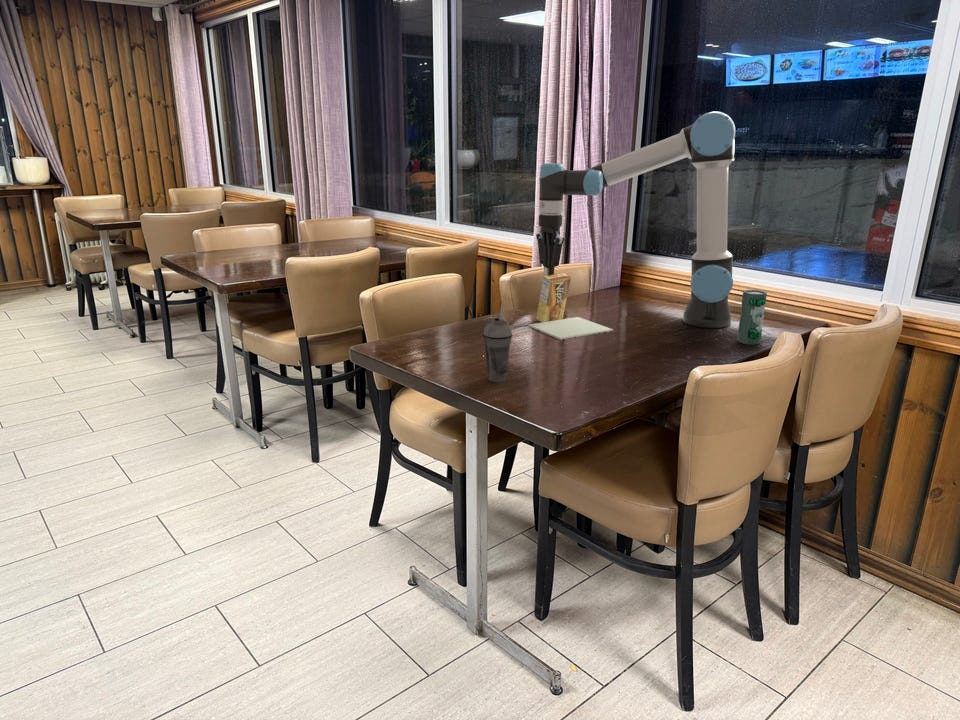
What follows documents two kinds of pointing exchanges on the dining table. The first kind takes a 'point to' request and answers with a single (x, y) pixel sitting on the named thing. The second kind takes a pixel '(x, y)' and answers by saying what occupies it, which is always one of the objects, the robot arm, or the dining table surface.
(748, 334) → the can
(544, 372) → the dining table surface
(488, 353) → the beverage cup
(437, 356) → the dining table surface
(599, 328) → the mat
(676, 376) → the dining table surface
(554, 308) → the candy box
